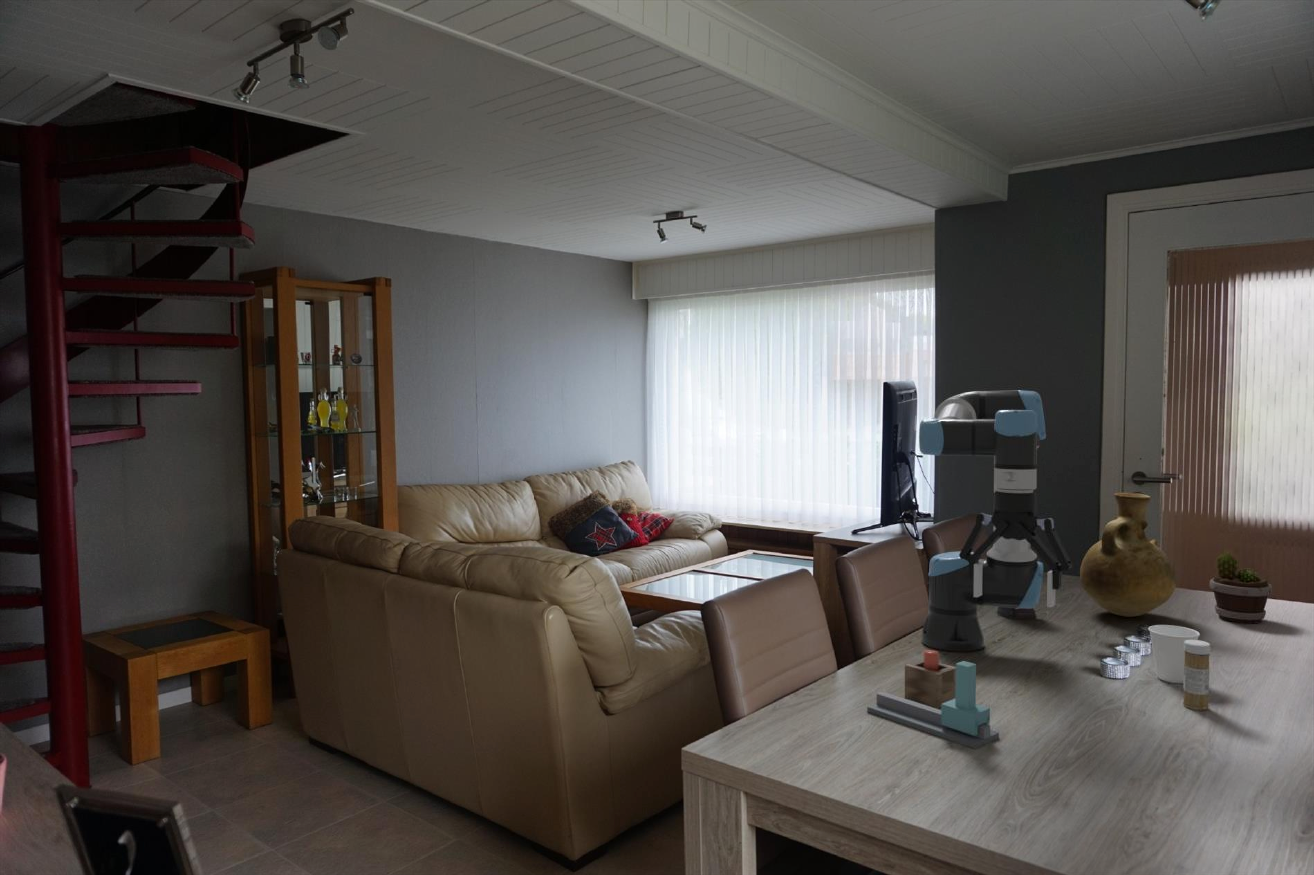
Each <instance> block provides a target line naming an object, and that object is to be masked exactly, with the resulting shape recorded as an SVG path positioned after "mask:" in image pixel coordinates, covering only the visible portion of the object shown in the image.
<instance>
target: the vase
mask: <svg viewBox="0 0 1314 875" xmlns="http://www.w3.org/2000/svg"><path fill="white" fill-rule="evenodd" d="M1113 496H1114V498H1115V500H1116V505H1117V516H1116V517H1115V519H1113V520H1111V521H1109V522H1108V523H1107V524H1106V525H1105V527H1104V528H1103V531H1102V535H1101V540H1099V541H1097V542H1096V543H1095V544H1093V545H1091V547H1090V548H1089V549H1088V550H1087V552H1086V553H1085V555H1084V557H1083V559H1082V561H1081V565H1080V569H1079V578H1080V583H1081V586H1082V588H1083V590H1084V591H1085V593H1086V594H1087V595H1088V597H1089V598H1091V599H1092V601H1094V602H1095V603H1096V604H1097V605H1098V606H1100V607H1101V608H1102V609H1104V610H1106V611H1107V612H1109V613H1111V614H1113V615H1116V616H1120V617H1126V618H1130V617H1131V618H1132V617H1139V616H1142V615H1145V614H1147V613H1149V612H1151V611H1153V610H1155V609H1157V608H1159V607H1161V606H1162V605H1163V604H1165V603H1166V602H1167V601H1169V600H1170V598H1171V597H1172V596H1173V594H1174V591H1175V589H1176V584H1177V576H1176V571H1175V569H1174V566H1173V564H1172V562H1171V561H1170V559H1169V557H1168V556H1167V554H1165V552H1164V551H1163V550H1162V549H1161V548H1160V547H1158V544H1157V543H1158V542H1157V540H1156V539H1152V540H1148V538H1147V536H1146V532H1145V529H1147V527H1148V525H1149V523H1148V521H1147V519H1146V517H1145V516H1146V510H1147V506H1148V504H1149V502H1150V500H1151V499H1152V498H1151V496H1150V495H1147V494H1143V493H1131V492H1116V493H1114V495H1113Z"/></svg>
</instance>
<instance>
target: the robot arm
mask: <svg viewBox="0 0 1314 875" xmlns="http://www.w3.org/2000/svg"><path fill="white" fill-rule="evenodd" d="M1043 408H1044V406H1043V401H1042V397H1041V395H1040V394H1039V393H1038V392H1037V391H1033V390H1022V389H1021V390H1020V389H1019V390H1018V389H1017V390H1013V389H1011V390H973V391H966V392H962V393H959V394H956V395H953V396H951V397H948V398H947V399H945V400H944V401H942V402H941V403H940V404H939V405H938V406H937V408H936V410H935V413H934V416H933V418H929V419H928V418H927V419H923V420H921V421H920V423H919V429H918V431H919V432H918V433H919V436H918V444H919V445H918V447H919V451H920V453H921V454H923V455H929V456H935V457H938V456H971V457H973V456H974V457H975V456H976V457H994V458H993V470H994V471H993V514H992V515H991V514H987V513H986V512H980V513H978V514H976V517H975V518H976V519H975V525H974V527H973V528H972V530H971V532H970V534H969V536H968V538H967V540H966V542H965V544H964V545H963V547H962V549H961V550H960V551H949V552H944V553H943V552H942V553H938V554H936V555H934V556H933V557H931V559H930V561H929V566H928V567H929V569H928V571H929V572H928V574H927V575H928V577H929V578H928V580H929V581H928V582H929V583H928V613H927V616H926V619H925V622H924V623H923V624H924V625H923V627H922V630H921V635H920V636H921V639H920V640H921V643H922V644H923V645H925V646H927V647H929V648H933V649H934V650H935V649H936V650H939V651H940V650H941V651H947V652H957V653H959V652H960V653H962V652H966V653H967V652H974V651H975V652H976V651H980V650H981V649H983V648H984V647H985V641H984V640H985V639H984V634H983V631H982V627H981V625H980V624H981V623H980V622H979V618H978V613H977V612H978V611H977V610H978V608H977V607H978V606H983V607H984V606H985V607H996V608H998V607H1008V608H1015V609H1019V608H1026V609H1031V608H1033V609H1034V608H1036V607H1037V605H1038V603H1039V600H1040V597H1041V591H1042V585H1043V574H1044V564H1043V562H1041V561H1040V562H1037V557H1038V555H1039V557H1040V558H1041V560H1043V561H1044V563H1045V564H1046V566H1048V567H1049V569H1050V570H1049V571H1047V573H1046V574H1047V579H1046V580H1047V581H1046V583H1047V584H1046V593H1047V594H1046V607H1047V608H1053V607H1054V606H1056V590H1060V589H1061V587H1062V573H1063V572H1064V571H1068V570H1070V569H1071V568H1073V562H1072V560H1071V559H1070V556H1069V555H1068V553H1067V550H1066V549H1065V547H1064V545H1063V543H1062V540H1061V538H1060V537H1059V535H1058V532H1057V531H1056V523H1055V519H1054V518H1053V517H1048V518H1039V519H1038V516H1037V493H1036V492H1035V491H1034V490H1037V488H1038V487H1037V485H1038V484H1037V482H1038V481H1037V480H1038V479H1037V478H1038V477H1037V476H1038V475H1037V472H1038V470H1037V466H1038V465H1037V454H1038V453H1037V450H1038V448H1040V440H1041V441H1042V440H1045V439H1046V438H1047V434H1046V422H1045V415H1044V409H1043ZM990 522H991V523H992V525H993V530H992V533H991V534H990V535H989V536H988V537H987V538H986V539H985V540H984V541H983V543H982V544H981V545H980V546H979V547H978V548H977V549H976V550H975V551H973V550H974V547H975V546H976V544H977V542H978V540H979V539H980V537H981V536H982V534H983V531H984V530H985V528H986V526H987V525H989V524H990ZM1038 526H1039V527H1040V528H1041V530H1042V531H1044V533H1045V535H1046V538H1047V539H1048V541H1049V544H1050V545H1051V547H1052V550H1053V552H1054V554H1055V556H1054V554H1053V553H1052V552H1051V551H1050V550H1049V548H1047V546H1046V545H1045V544H1044V543H1043V541H1042V540H1041V539H1040V537H1039V535H1038V534H1037V533H1036V531H1035V529H1036V528H1037V527H1038ZM1031 546H1032V548H1033V550H1032V548H1031ZM1034 549H1035V550H1036V553H1037V555H1036V554H1035V551H1034ZM985 554H986V558H983V556H984V555H985Z"/></svg>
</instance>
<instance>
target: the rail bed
mask: <svg viewBox="0 0 1314 875" xmlns="http://www.w3.org/2000/svg"><path fill="white" fill-rule="evenodd" d="M866 711H867V713H870V714H873V715H877V716H879V717H882V718H885V719H888V720H890V721H893V722H897V723H899V724H902V725H905V726H908V727H911V728H914V729H917V730H919V731H921V732H925V733H927V734H928V733H929V734H931V735H934V736H937V737H939V738H942V739H945V740H948V741H951V742H954V743H957V744H960V745H963V746H966V747H968V748H971V749H974V750H976V749H978V748H980V747H982V746H984V745H986V744H989V743H991V742H994V741H995V740H998V739H999V738H1000V732H998V731H996V730H992V729H991V725H990V724H989V725H986V724H981V725H979V726H978V735H976V736H974V735H971V734H968V733H965V732H962V731H959V730H956V729H953V728H950V727H947V726H944V725H941V709H940V708H935V707H932V706H929V705H926V704H923V703H920V702H917V701H913V700H910V699H907V698H905V697H901V696H899V695H898V696H897V695H894V694H892V693H889V692H885V691H881V692H877V693H876V703H874V704H870V705H869V706H867V709H866Z"/></svg>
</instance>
